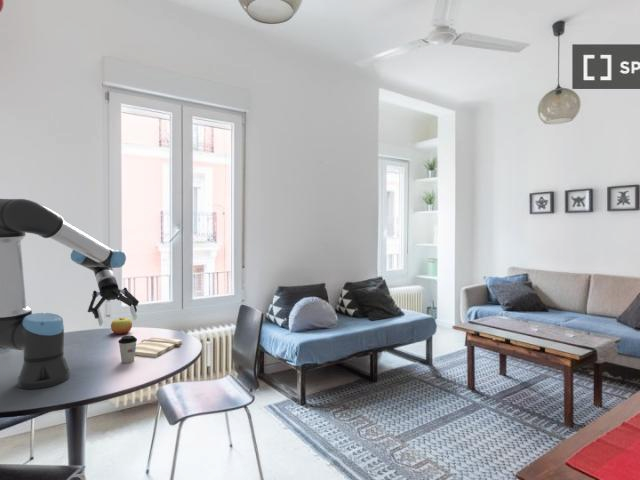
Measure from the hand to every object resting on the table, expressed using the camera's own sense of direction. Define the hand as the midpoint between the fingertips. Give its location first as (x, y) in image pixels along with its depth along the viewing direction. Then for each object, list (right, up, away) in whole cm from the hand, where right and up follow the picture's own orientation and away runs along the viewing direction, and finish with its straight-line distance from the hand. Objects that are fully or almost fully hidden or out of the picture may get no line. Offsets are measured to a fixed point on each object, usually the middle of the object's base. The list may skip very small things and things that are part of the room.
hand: (118, 321), depth 164 cm
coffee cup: (+7, -15, -7) cm, 18 cm away
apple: (-16, -13, +33) cm, 39 cm away
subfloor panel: (+11, -14, +10) cm, 20 cm away
